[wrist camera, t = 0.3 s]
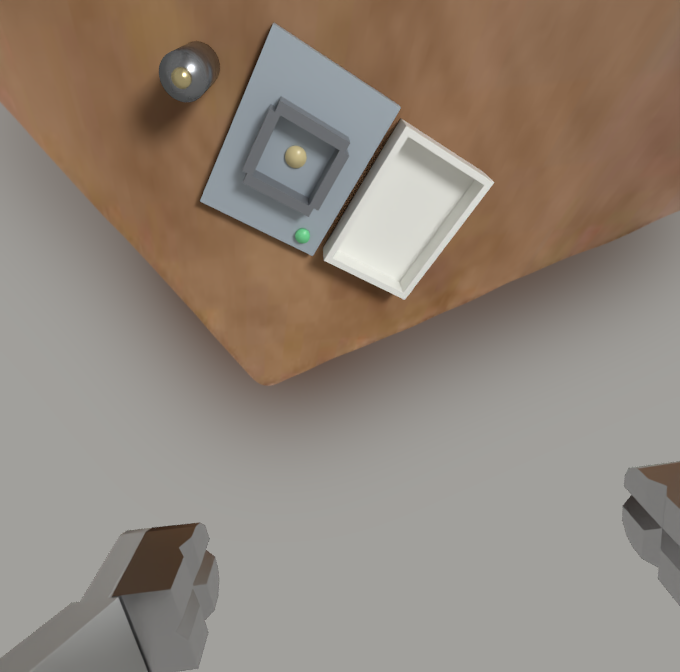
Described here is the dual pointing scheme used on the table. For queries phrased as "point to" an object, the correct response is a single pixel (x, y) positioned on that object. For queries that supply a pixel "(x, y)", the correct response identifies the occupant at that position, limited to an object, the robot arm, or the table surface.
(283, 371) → the table surface
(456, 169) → the tray
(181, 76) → the cell
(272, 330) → the table surface
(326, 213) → the tester cradle
